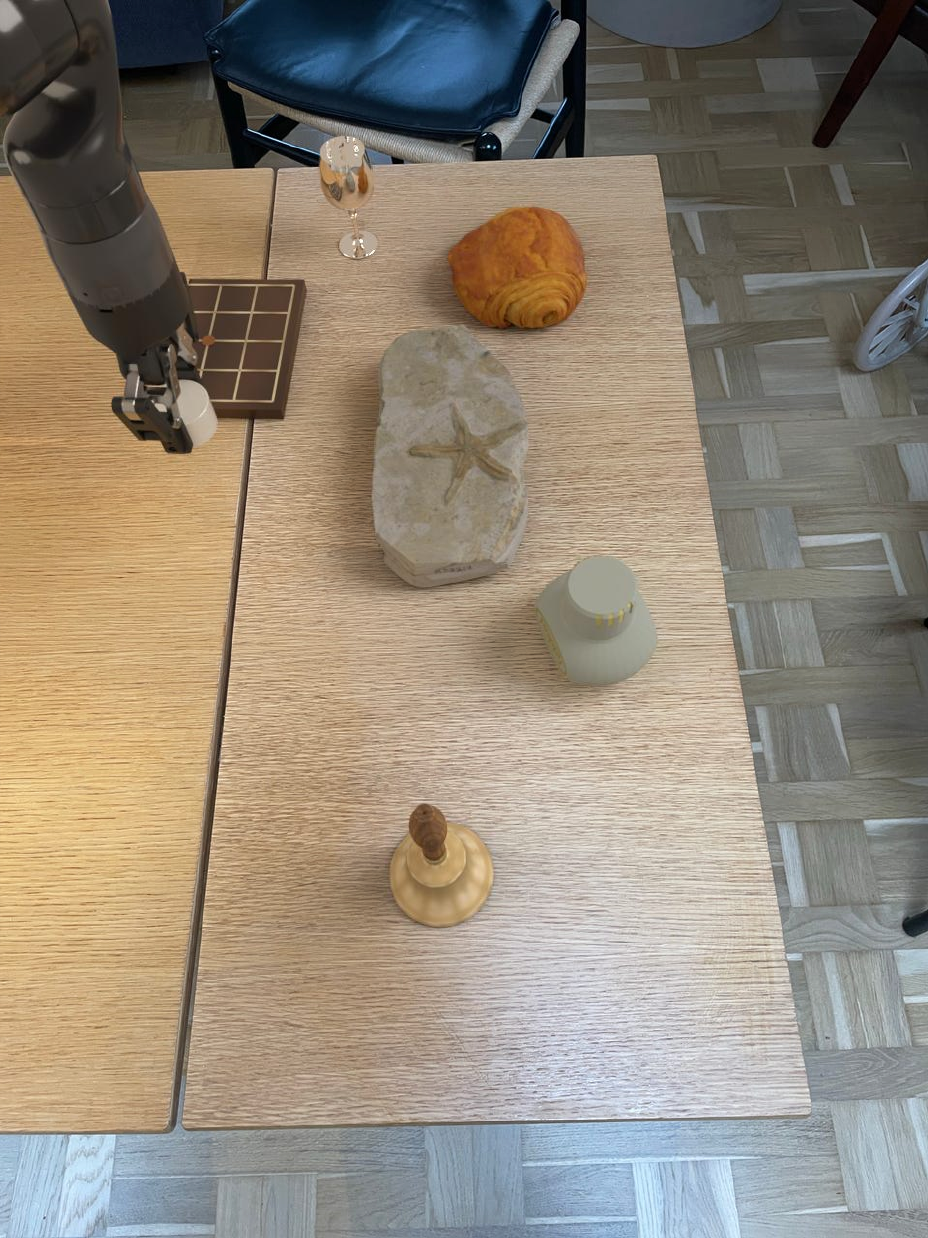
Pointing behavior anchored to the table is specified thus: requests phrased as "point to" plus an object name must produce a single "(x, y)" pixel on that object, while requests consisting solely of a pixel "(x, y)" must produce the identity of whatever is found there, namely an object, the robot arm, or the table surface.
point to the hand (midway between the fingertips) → (187, 423)
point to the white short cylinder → (195, 411)
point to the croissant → (520, 269)
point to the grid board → (247, 343)
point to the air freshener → (596, 622)
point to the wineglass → (348, 188)
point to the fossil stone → (448, 459)
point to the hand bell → (440, 870)
